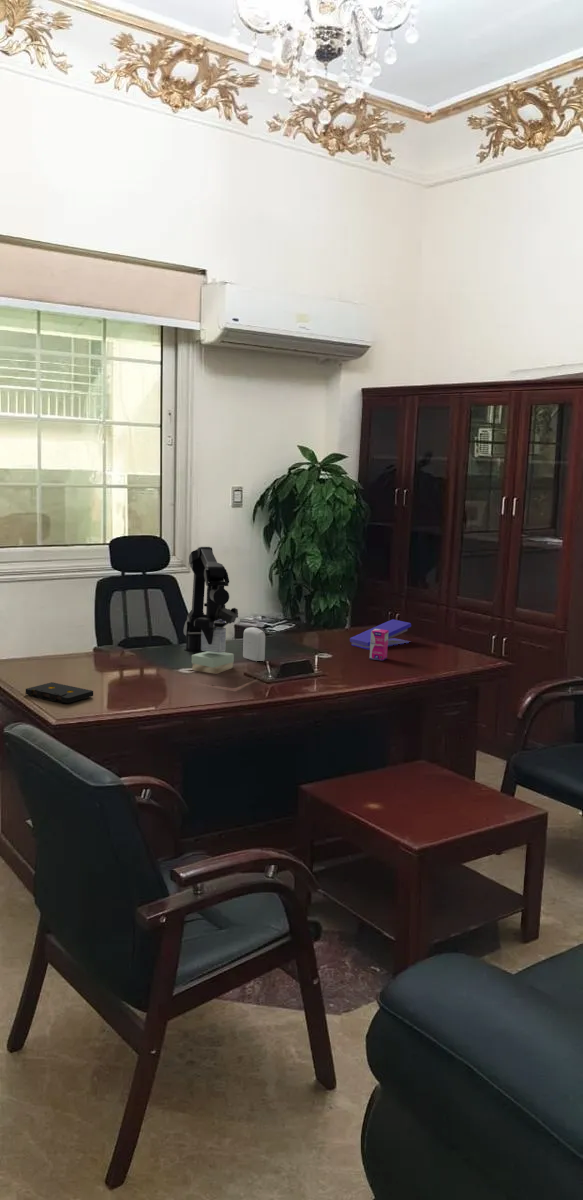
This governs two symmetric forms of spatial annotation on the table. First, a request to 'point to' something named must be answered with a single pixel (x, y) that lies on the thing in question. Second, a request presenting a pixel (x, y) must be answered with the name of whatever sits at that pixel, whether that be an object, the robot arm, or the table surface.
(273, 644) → the table surface
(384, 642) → the supplement box
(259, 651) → the photo printer
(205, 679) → the table surface
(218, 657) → the tower top block
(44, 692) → the cassette tape
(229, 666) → the tower base block
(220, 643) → the medicine box
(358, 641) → the stapler
